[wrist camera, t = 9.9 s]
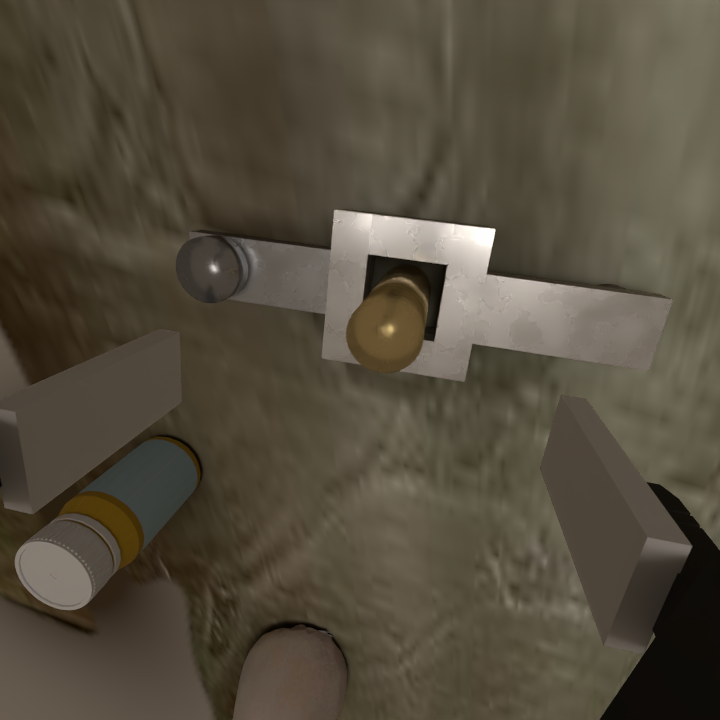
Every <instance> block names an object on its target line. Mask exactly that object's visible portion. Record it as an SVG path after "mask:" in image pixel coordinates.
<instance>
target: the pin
mask: <svg viewBox="0 0 720 720" xmlns="http://www.w3.org/2000/svg"><path fill="white" fill-rule="evenodd" d="M430 294H431V285H430V281H429V279H428V277H427V275H426V274H425V273H424V271H422V270H421V269H420V268H418V267H416V266H413V265H408V264H404V265H399V266H396V267H394V268H392V269H391V270H390V271H388V273H387V274H386V275H385V276H384V277H383V278H382V280H381V281H380V282H379V283H378V284H377V285H376V287H375V288H374V289H373V290H372V291H371V292H370V294H369V295H368V296H367V297H366V298H365V300H364V301H363V302H362V303H361V304H360V305H359V307H358V308H357V309H356V310H355V311H354V312H353V314H352V315H351V317H350V319H349V321H348V324H347V329H346V340H347V344H348V347H349V350H350V352H351V354H352V355H353V357H354V358H355V359H356V360H357V361H358V362H359V363H360V364H361V365H363V366H364V367H366V368H367V369H369V370H372V371H375V372H379V373H392V372H397V371H400V370H402V369H404V368H406V367H408V366H409V365H410V364H411V363H412V362H413V361H414V360H415V359H416V358H417V356H418V355H419V353H420V351H421V348H422V344H423V339H424V333H425V326H426V320H427V313H428V307H429V300H430Z"/></svg>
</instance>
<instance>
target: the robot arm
mask: <svg viewBox="0 0 720 720" xmlns="http://www.w3.org/2000/svg"><path fill="white" fill-rule="evenodd" d="M181 402H182V399H181V365H180V332H175V331H169V330H163V329H158V330H156V331H154V332H152V333H149V334H147V335H145V336H142V337H140V338H138V339H136V340H133V341H131V342H129V343H127V344H124V345H122V346H120V347H117V348H115V349H113V350H111V351H108V352H106V353H104V354H102V355H99V356H97V357H95V358H92V359H90V360H88V361H86V362H83V363H81V364H79V365H77V366H74V367H72V368H70V369H67V370H65V371H63V372H61V373H58V374H56V375H54V376H52V377H49V378H47V379H45V380H42V381H40V382H38V383H36V384H33V385H31V386H29V387H27V388H24V389H22V390H20V391H17V392H15V393H13V394H11V395H9V396H6V397H4V398H2V399H0V487H1V491H2V496H3V502H4V507H5V508H8V509H12V510H16V511H21V512H25V513H29V514H34V513H35V512H36V511H38V510H39V509H40V508H42V507H43V506H44V505H45V504H47V503H48V502H50V501H51V500H52V499H54V498H55V497H56V496H58V495H59V494H60V493H62V492H63V491H64V490H65V489H67V488H68V487H69V486H71V485H72V484H73V483H75V482H76V481H77V480H79V479H80V478H81V477H83V476H84V475H85V474H87V473H88V472H89V471H91V470H92V469H93V468H95V467H96V466H97V465H99V464H100V463H101V462H103V461H104V460H105V459H107V458H108V457H109V456H111V455H112V454H113V453H115V452H116V451H117V450H119V449H120V448H121V447H123V446H124V445H125V444H127V443H128V442H129V441H130V440H132V439H133V438H134V437H136V436H137V435H138V434H140V433H141V432H142V431H144V430H145V429H146V428H148V427H149V426H150V425H152V424H153V423H154V422H156V421H157V420H158V419H160V418H161V417H162V416H164V415H165V414H166V413H168V412H169V411H170V410H172V409H173V408H174V407H176V406H177V405H178V404H180V403H181ZM540 470H541V473H542V475H543V478H544V481H545V484H546V486H547V489H548V492H549V495H550V498H551V500H552V503H553V506H554V509H555V511H556V514H557V517H558V520H559V523H560V525H561V528H562V531H563V534H564V536H565V539H566V542H567V545H568V548H569V550H570V553H571V556H572V559H573V562H574V564H575V567H576V570H577V573H578V575H579V578H580V581H581V584H582V587H583V589H584V592H585V595H586V598H587V600H588V603H589V606H590V609H591V612H592V614H593V617H594V620H595V623H596V626H597V628H598V631H599V634H600V637H601V639H602V642H603V645H604V646H608V647H613V648H617V649H622V650H626V651H630V652H635V653H639V654H644V652H645V650H646V648H647V646H648V643H649V641H650V639H651V637H652V634H653V632H654V634H655V636H656V637H655V639H654V640H653V642H652V643H651V645H650V646H649V648H648V649H647V651H646V652H645V654H644V655H643V656H642V658H641V659H640V661H639V662H638V664H637V665H636V667H635V668H634V670H633V671H632V673H631V674H630V676H629V677H628V679H627V680H626V682H625V683H624V684H623V686H622V687H621V689H620V690H619V692H618V693H617V695H616V696H615V698H614V699H613V701H612V702H611V704H610V705H609V707H608V708H607V710H606V711H605V712H604V714H603V715H602V717H601V718H600V720H720V550H719V549H718V548H717V546H716V545H715V544H714V543H713V541H712V540H711V539H710V538H709V536H708V535H707V534H706V533H705V531H704V530H703V529H702V528H700V525H699V524H698V522H697V521H696V520H695V519H694V517H693V516H690V512H689V511H688V510H687V509H686V507H685V506H684V505H683V504H682V502H681V501H680V500H679V499H678V498H677V497H676V496H674V495H673V494H672V493H670V492H669V491H668V490H666V489H665V488H664V487H662V486H661V485H659V484H654V483H648V482H646V481H645V480H644V478H643V477H642V476H641V474H640V473H639V471H638V470H637V469H636V467H635V466H634V465H633V463H632V462H631V460H630V459H629V458H628V456H627V455H626V453H625V452H624V451H623V449H622V448H621V447H620V445H619V444H618V442H617V441H616V440H615V438H614V437H613V435H612V434H611V433H610V431H609V430H608V429H607V427H606V426H605V424H604V423H603V422H602V420H601V419H600V417H599V416H598V415H597V413H596V412H595V411H594V409H593V408H592V406H591V405H590V404H589V402H588V401H587V400H586V399H583V398H577V397H571V396H565V395H561V397H560V400H559V404H558V407H557V411H556V414H555V418H554V421H553V425H552V428H551V432H550V435H549V439H548V442H547V446H546V449H545V453H544V456H543V460H542V463H541V467H540Z"/></svg>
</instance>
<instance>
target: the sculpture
mask: <svg viewBox="0 0 720 720" xmlns="http://www.w3.org/2000/svg"><path fill="white" fill-rule="evenodd" d="M327 633H330V632H326V631H318V630H316V629H313V628H310V627H306V626H305V625H297V626H295V627H293V628H279V629H276V630H274V631H271V632H267V633H265V634H263V635H262V636H261V637H260V638H259V639H258V640H257V641H256V643H255V644H254V645H253V647H252V648H251V650H250V652H249V654H248V656H247V658H246V660H245V662H244V666H243V670H242V673H241V677H240V681H239V687H238V692H237V697H236V703H235V709H234V716H233V720H336V719H337V716H338V714H339V712H340V709H341V706H342V703H343V700H344V696H345V692H346V686H347V673H348V672H347V667H346V664H345V660H344V658H343V656H342V653H341V651H340V650H339V648H338V647H337V646H336V645H335V643H334V642H333V640H332V635H329V634H327Z"/></svg>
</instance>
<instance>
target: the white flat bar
mask: <svg viewBox="0 0 720 720" xmlns="http://www.w3.org/2000/svg"><path fill="white" fill-rule="evenodd" d="M495 230H496V229H494V228H492V227H488V226H480V225H471V224H463V223H455V222H447V221H438V220H430V219H422V218H414V217H405V216H397V215H389V214H380V213H372V212H364V211H356V210H347V209H341V210H334V219H333V231H332V242H331V247H326V246H318V245H311V244H303V243H295V242H288V241H280V240H273V239H265V238H258V237H250V236H243V235H235V234H227V233H220V232H212V231H205V230H198V231H189V241H187V242H186V243H185V244H184V245H183V246H182V247H181V249H180V251H179V253H178V256H177V260H176V271H177V275H178V279H179V281H180V283H181V285H182V286H183V288H184V289H185V290H186V291H187V293H188V294H190V295H191V296H192V297H194V298H195V299H197V300H199V301H202V302H205V303H216V302H220V301H223V300H225V299H229V300H236V301H242V302H249V303H255V304H262V305H268V306H275V307H282V308H288V309H295V310H301V311H308V312H315V313H321V314H325V324H324V335H323V347H322V358H323V359H329V360H335V361H341V362H347V363H353V364H359V365H361V364H360V363H359V362H358V361H357V360H356V359H355V358H354V357H353V355H352V354H351V352H350V350H349V347H348V344H347V340H346V329H347V324H348V321H349V319H350V317H351V315H352V314H353V312H354V311H355V310H356V309H357V308H358V307H359V305H360V304H361V303H362V302H363V301H364V300H365V298H366V297H367V296H368V295H369V294H370V292H371V287H372V278H373V270H374V262H375V255H377V256H385V257H392V258H400V259H407V260H415V261H422V262H430V263H437V264H445V265H446V269H445V275H444V280H443V286H442V292H441V298H440V304H439V309H438V315H437V321H436V327H435V328H431V327H425V333H424V339H423V344H422V348H421V351H420V353H419V355H418V356H417V358H416V359H415V360H414V361H413V362H412V363H411V364H410V365H409V366H408V367H406V368H404V369H402V370H400V371H402V372H408V373H414V374H420V375H426V376H432V377H438V378H444V379H450V380H457V381H463V382H465V377H466V372H467V368H468V363H469V358H470V353H471V348H472V344H478V345H484V346H491V347H497V348H504V349H510V350H517V351H523V352H530V353H536V354H543V355H549V356H556V357H562V358H569V359H575V360H582V361H588V362H595V363H601V364H608V365H614V366H621V367H627V368H634V369H640V370H647V371H649V368H650V365H651V362H652V359H653V356H654V353H655V351H656V348H657V345H658V342H659V339H660V336H661V333H662V331H663V328H664V325H665V322H666V319H667V316H668V313H669V311H670V308H671V305H672V302H673V299H671V298H668V297H666V296H663V295H661V294H656V293H648V292H641V291H633V290H627V289H625V288H622V287H620V286H617V285H612V284H601V285H588V284H581V283H573V282H566V281H558V280H551V279H543V278H535V277H528V276H520V275H513V274H505V273H498V272H490V271H487V269H488V264H489V259H490V254H491V250H492V245H493V240H494V235H495Z"/></svg>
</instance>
